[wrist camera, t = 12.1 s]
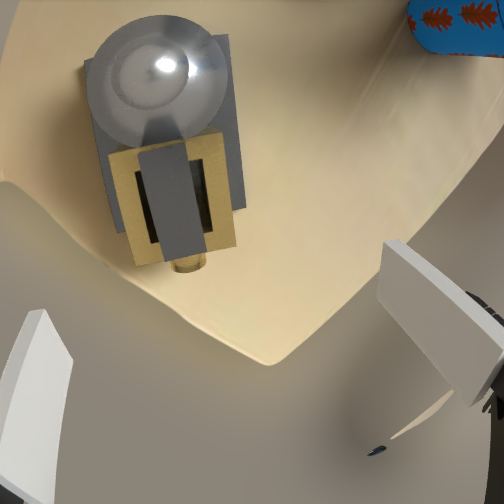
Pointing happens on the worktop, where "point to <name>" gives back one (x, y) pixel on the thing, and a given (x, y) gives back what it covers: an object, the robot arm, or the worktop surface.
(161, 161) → the grey slab block
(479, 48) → the thermos
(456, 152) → the worktop surface
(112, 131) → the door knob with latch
